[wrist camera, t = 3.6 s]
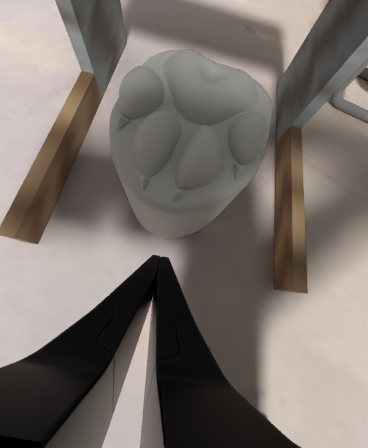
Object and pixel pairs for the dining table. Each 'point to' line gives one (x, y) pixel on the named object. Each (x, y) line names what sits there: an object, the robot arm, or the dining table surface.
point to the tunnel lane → (285, 134)
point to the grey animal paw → (186, 139)
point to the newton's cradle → (344, 105)
